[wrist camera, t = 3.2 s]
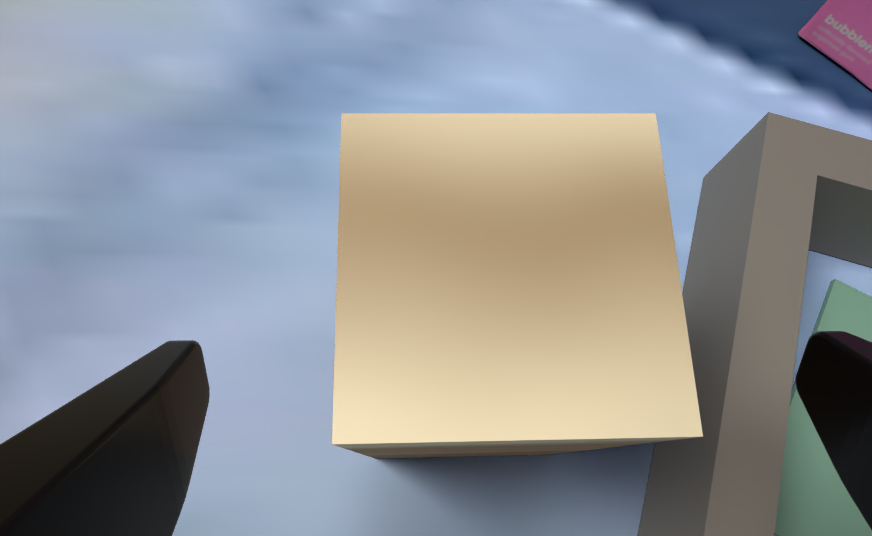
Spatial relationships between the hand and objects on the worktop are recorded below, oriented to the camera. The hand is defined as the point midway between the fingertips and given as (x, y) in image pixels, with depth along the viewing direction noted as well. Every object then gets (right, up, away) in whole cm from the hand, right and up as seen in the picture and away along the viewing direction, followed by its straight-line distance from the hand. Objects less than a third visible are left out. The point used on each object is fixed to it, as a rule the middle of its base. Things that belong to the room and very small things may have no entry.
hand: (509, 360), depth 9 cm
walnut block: (0, -2, +9) cm, 10 cm away
